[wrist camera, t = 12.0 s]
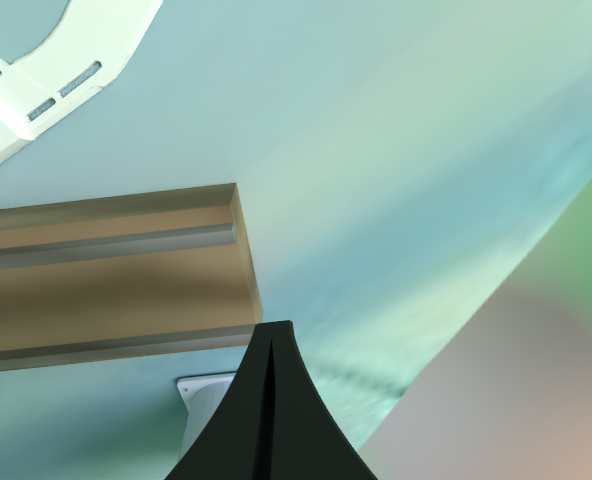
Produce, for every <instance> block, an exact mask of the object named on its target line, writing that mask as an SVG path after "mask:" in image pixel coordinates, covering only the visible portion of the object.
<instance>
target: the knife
mask: <svg viewBox="0 0 592 480" xmlns="http://www.w3.org/2000/svg"><path fill="white" fill-rule="evenodd" d="M162 2H163V0H70V1H69V3H68V6H67V8H66V10H65V12H64V14H63V16H62V19H61V21H60V22H59V24H58V25H57V26H56V28H55V29H54V30H53V32H52V33H51V34H50V35H49V37H48V38H47V39H46V40H45V41H44V42H43V43H42V44H41V45H40V46H39V47H37V48H36V49H35V50H33V51H32V52H31V53H29V54H28V55H26V56H24V57H22V58H20V59H17V60H15V61H14V62H13V63H12V64H11V65H9V64H7V63H6V62H5V61H3V60H2V59H0V71H1V72H2V74H1V73H0V164H1V163H2V162H4V161H5V160H7V159H8V158H9V157H11V156H12V155H13V154H15V153H16V152H17V151H19V150H20V149H21V148H23V147H24V146H26V145H28V144H29V143H30V142H32V141H33V140H34V139H36V138H37V136H38V135H40V134H41V133H42V132H44V131H45V130H47V129H48V128H49V127H51V126H52V125H53V124H55V123H56V122H58V121H59V120H60V119H62V118H63V117H64V116H66V115H67V114H69V113H70V112H71V111H73V110H74V109H75V108H77V107H78V106H80V105H81V104H82V103H84V102H85V101H87V100H88V99H89V98H91V97H92V96H93V95H95V94H96V93H98V92H99V91H100V90H102V89H103V88H105V87H107V86H108V85H109V84H111V83H112V82H113V81H114V80H116V79H117V78H118V76H119V74H120V72H121V71H122V69H123V68H124V66H125V65H126V64H127V62H128V61H129V59H130V58H131V56H132V55H133V53H134V51H135V49H136V48H137V46H138V44H139V42H140V41H141V39H142V37H143V35H144V34H145V32H146V30H147V28H148V27H149V25H150V23H151V21H152V20H153V18H154V16H155V14H156V13H157V11H158V9H159V7H160V5H161V4H162ZM97 61H99V62H101V64H102V67H101V68H100V69H99V70H98V71H97V72H96V73H95V74H94V75H93V76H91V77H90V78H89V79H87V80H86V81H85V82H83V83H82V84H81V85H79V86H78V87H77V88H76V89H74V90H73V91H72V92H70V93H69V94H68V95H66V96H65V97H64V98H63V97H62V96H61V95H60V91H61V90H63V89H64V88H65V87H67V86H68V85H69V84H71V83H72V82H73V81H75V80H76V79H77V78H79V77H80V76H81V75H83V74H84V73H85V72H86V71H87V70H89V69H90V68H91V67H92V66H93V65H94V64H95V63H96V62H97ZM51 98H53V99H55V101H56V103H55V104H54V105H53V106H52V107H50V108H49V109H48V110H46V111H45V112H44V113H42V114H41V115H40V116H38V117H37V118H36V119H35V120H33V121H31V120H29V117H28V116H29V115H30V114H31V113H33V112H34V111H35V110H37V109H38V108H39V107H41V106H42V105H44V104H45V103H46V102H47V101H49V100H50V99H51Z"/></svg>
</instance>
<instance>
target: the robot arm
mask: <svg viewBox="0 0 592 480" xmlns="http://www.w3.org/2000/svg"><path fill="white" fill-rule="evenodd" d="M177 387H178V390H179V392H180V394H181V396H182V398H183V401H184V403H185V405H186V407H187V410H188V412H189V416H188V420H187V424H186V428H185V433H184V437H183V441H182V445H181V450H180V454H179V458H178V462H177V465H176V466H175V467H174V468H173V470H172V471H171V472H170V473H169V475H168V476H167V477H166V478H165V479H164V480H378V479H377V478H376V476H375V475H374V474H373V473H372V472H371V470H369V468H368V467H367V465H366V464H365V463H364V462H363V460H362V459H361V458H360V456H359V455H358V454H357V452H356V451H355V450H354V448H353V447H352V446H351V444H350V443H349V441H348V440H347V438H346V437H345V436H344V434H343V433H342V431H341V430H340V428H339V427H338V425H337V424H336V422H335V421H334V419H333V418H332V416H331V414H330V413H329V411H328V409H327V408H326V406H325V404H324V403H323V401H322V399H321V397H320V395H319V394H318V392H317V390H316V388H315V386H314V384H313V382H312V380H311V378H310V376H309V374H308V371H307V369H306V367H305V365H304V362H303V360H302V357H301V355H300V352H299V349H298V346H297V343H296V340H295V336H294V329H293V323H292V322H291V321H290V320H286V321H277V322H267V323H258V324H257V325H256V326H255V328H254V331H253V334H252V337H251V340H250V343H249V345H248V348H247V350H246V353H245V355H244V357H243V359H242V361H241V364H240V366H239V368H238V370H237V372H236V373H228V374H219V375H209V376H200V377H190V378H182V379H179V380H178V382H177Z"/></svg>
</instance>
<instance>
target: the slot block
mask: <svg viewBox="0 0 592 480" xmlns="http://www.w3.org/2000/svg"><path fill="white" fill-rule="evenodd" d="M262 314H263V311H262V306H261V301H260V297H259V292H258V287H257V282H256V277H255V272H254V267H253V262H252V257H251V253H250V248H249V243H248V238H247V233H246V228H245V223H244V218H243V213H242V209H241V204H240V199H239V194H238V189H237V184H236V183H231V184H222V185H213V186H204V187H195V188H187V189H178V190H169V191H160V192H151V193H142V194H134V195H125V196H116V197H107V198H98V199H90V200H81V201H72V202H63V203H54V204H45V205H37V206H28V207H19V208H10V209H1V210H0V371H8V370H18V369H27V368H37V367H46V366H55V365H65V364H74V363H84V362H93V361H102V360H112V359H121V358H131V357H140V356H149V355H159V354H168V353H177V352H187V351H196V350H206V349H215V348H224V347H234V346H243V345H249V343H250V340H251V337H252V334H253V331H254V328H255V326H256V325H257V324H258V323H262Z"/></svg>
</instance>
